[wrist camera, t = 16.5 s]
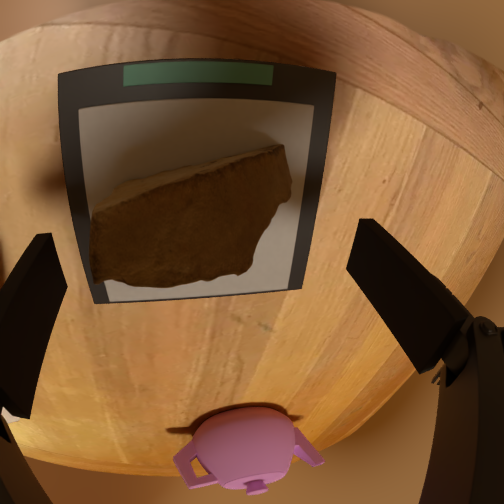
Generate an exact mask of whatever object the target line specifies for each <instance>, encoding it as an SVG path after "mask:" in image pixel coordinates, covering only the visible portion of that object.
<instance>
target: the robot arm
mask: <svg viewBox="0 0 504 504" xmlns="http://www.w3.org/2000/svg"><path fill="white" fill-rule="evenodd" d="M346 270H347V271H348V272H349V274H350V275H351V276H352V278H353V279H354V280H355V282H356V283H357V284H358V286H359V287H360V289H361V290H362V291H363V293H364V294H365V295H366V297H367V298H368V300H369V301H370V302H371V304H372V305H373V307H374V308H375V309H376V311H377V312H378V314H379V315H380V316H381V318H382V319H383V321H384V322H385V324H386V325H387V327H388V328H389V329H390V331H391V332H392V334H393V335H394V337H395V338H396V340H397V341H398V343H399V344H400V346H401V347H402V349H403V350H404V352H405V353H406V355H407V356H408V358H409V359H410V361H411V362H412V364H413V365H414V367H415V368H416V370H417V371H418V373H419V374H421V373H424V372H426V371H429V370H431V369H433V368H434V367H435V366H436V364H437V363H438V361H439V360H440V359H441V358H442V360H443V361H444V365H443V366H442V367H441V368H440V370H439V371H438V372H437V374H436V375H435V376H434V377H433V379H432V383H434V382H435V381H436V380H437V378H438V377H440V380H439V382H438V383H437V385H440V387H439V399H438V409H437V417H436V425H435V431H434V438H433V444H432V449H431V455H430V460H429V465H428V469H427V474H426V478H425V482H424V486H423V490H422V494H421V498H420V501H419V504H504V327H497V326H496V325H495V324H494V323H493V322H492V321H491V320H489V319H487V318H486V317H482V316H479V317H476V318H474V317H473V316H472V315H471V314H470V313H469V311H468V310H467V309H466V308H465V307H464V306H463V305H462V303H461V302H460V301H459V300H458V299H457V298H456V297H455V296H454V295H452V292H451V291H450V290H449V289H448V288H446V286H445V285H444V284H443V283H442V282H441V281H440V280H439V279H438V278H437V277H435V276H434V275H432V274H431V273H430V272H429V271H428V270H427V269H426V268H425V267H424V266H423V265H422V264H421V263H420V262H419V261H418V260H417V259H416V258H415V257H414V256H413V255H412V254H410V253H409V252H408V251H407V250H406V249H405V248H404V247H403V246H402V245H401V244H400V243H399V242H398V241H397V240H396V239H395V238H394V237H393V236H392V235H391V234H389V233H388V232H387V231H386V230H385V229H384V228H383V227H382V226H381V225H380V224H379V223H377V222H376V221H375V220H374V219H359V223H358V227H357V231H356V234H355V238H354V242H353V246H352V249H351V253H350V257H349V260H348V264H347V267H346ZM67 287H68V286H67V283H66V280H65V277H64V274H63V271H62V268H61V265H60V261H59V258H58V255H57V251H56V248H55V244H54V240H53V237H52V233H43V234H36V236H35V237H34V238H33V240H32V241H31V243H30V244H29V246H28V247H27V248H26V250H25V251H24V253H23V254H22V256H21V257H20V259H19V261H18V262H17V264H16V265H15V267H14V268H13V270H12V272H11V273H10V275H9V277H8V278H7V280H6V282H5V283H4V285H3V287H2V288H1V290H0V504H53V503H52V502H51V500H50V499H49V497H48V496H47V494H46V493H45V491H44V490H43V488H42V487H41V485H40V483H39V482H38V480H37V479H36V477H35V475H34V474H33V472H32V470H31V469H30V467H29V465H28V463H27V462H26V460H25V458H24V456H23V454H22V452H21V450H20V449H19V447H18V445H17V443H16V441H15V439H14V437H13V435H12V432H11V430H10V428H9V426H8V424H7V422H6V420H5V418H4V417H3V416H2V415H1V413H2V409H3V407H4V408H5V409H6V410H7V411H8V412H9V413H10V414H11V415H12V416H15V417H20V418H25V419H30V415H31V410H32V405H33V400H34V395H35V391H36V386H37V382H38V378H39V374H40V370H41V366H42V363H43V359H44V355H45V352H46V349H47V345H48V342H49V339H50V335H51V332H52V329H53V326H54V323H55V320H56V317H57V314H58V312H59V309H60V306H61V303H62V301H63V298H64V295H65V293H66V290H67Z"/></svg>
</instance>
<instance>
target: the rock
mask: <svg viewBox="0 0 504 504" xmlns="http://www.w3.org/2000/svg"><path fill="white" fill-rule="evenodd" d="M292 182H293V181H292V178H291V175H290V171H289V166H288V163H287V158H286V154H285V147H284V145H283V144H277V145H271V146H267V147H263V148H259V149H256V150H252V151H248V152H246V153H242V154H237V155H233V156H228V157H223V158H220V159H216V160H213V161H209V162H206V163H202V164H198V165H194V166H192V165H188V166H183V167H180V168H177V169H174V170H168V171H162V172H160V173H157V174H155V175H151V176H148V177H146V178H144V179H133V180H129V181H126V182H124V183H122V184H120V185H118V186H116V187H115V188H114V189H113V191H112V193H111V195H110V196H109V197H107V198H105V199H103V200H102V201H101V202H100V203H97V204H96V205H95V206H94V208H93V211H92V217H91V225H90V239H89V263H90V268H91V273H92V277H93V282H94V284H100V283H102V282H104V281H107V280H114V281H117V282H123V283H125V284H127V285H129V286H133V287H152V288H171V287H175V286H179V285H184V284H191V283H194V282H197V281H200V280H202V281H206V282H209V281H213V280H215V279H216V278H218V277H220V276H226V275H231V274H235V275H237V276H239V275H241V274H243V273H244V272H247V271H248V269H249V268H250V267H251V266H252V264H253V256H254V253H255V249H256V246H257V244H258V242H259V240H260V238H261V236H262V234H263V233H264V231H265V230H266V229H267V228H268V227H269V225H270V223H271V220H272V218H273V217H274V216H275V214H276V212H277V209H278V206H279V205H280V204H282V203H286V202H287V201H288V200H289V199H290V198H291V194H292V193H291V184H292Z"/></svg>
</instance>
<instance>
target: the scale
mask: <svg viewBox="0 0 504 504" xmlns="http://www.w3.org/2000/svg"><path fill="white" fill-rule="evenodd" d="M335 82H336V73H335V72H331V71H326V70H321V69H315V68H309V67H303V66H296V65H289V64H281V63H273V62H263V61H252V60H237V59H211V58H186V59H160V60H145V61H134V62H125V63H116V64H109V65H102V66H95V67H89V68H84V69H78V70H73V71H69V72H64V73H59V74H58V111H59V128H60V140H61V150H62V159H63V167H64V175H65V182H66V188H67V194H68V200H69V206H70V211H71V216H72V221H73V226H74V230H75V235H76V239H77V243H78V248H79V252H80V256H81V259H82V263H83V267H84V271H85V274H86V278H87V281H88V284H89V288H90V291H91V294H92V297H93V301H94V304H109V303H131V302H150V301H167V300H183V299H197V298H210V297H223V296H235V295H246V294H257V293H268V292H278V291H287V290H297V289H302V285H303V280H304V276H305V271H306V266H307V261H308V256H309V251H310V246H311V240H312V235H313V230H314V224H315V219H316V213H317V208H318V202H319V196H320V190H321V184H322V178H323V172H324V165H325V159H326V152H327V145H328V138H329V131H330V123H331V116H332V108H333V100H334V91H335ZM277 144H283V145H284V147H285V154H286V158H287V163H288V166H289V171H290V175H291V178H292V181H293V182H292V184H291V193H292V194H291V198H290V199H289V200H288V201H287V202H286V203H282V204H280V205H279V206H278V209H277V212H276V214H275V216H274V217H273V218H272V220H271V223H270V225H269V227H268V228H267V229H266V230H265V231H264V233H263V234H262V236H261V238H260V240H259V242H258V244H257V246H256V249H255V253H254V256H253V264H252V266H251V267H250V268H249V269H248V271H247V272H244V273H243V274H241V275H239V276H237V275H235V274H231V275H226V276H220V277H218V278H216V279H215V280H213V281H209V282H206V281H202V280H200V281H197V282H194V283H191V284H184V285H179V286H175V287H171V288H152V287H133V286H129V285H127V284H125V283H123V282H117V281H114V280H107V281H104V282H102V283H100V284H94V282H93V277H92V273H91V268H90V263H89V239H90V225H91V217H92V211H93V208H94V206H95V205H96V204H97V203H100V202H101V201H102V200H103V199H105V198H107V197H109V196H110V195H111V193H112V191H113V189H114V188H115V187H116V186H118V185H120V184H122V183H124V182H126V181H129V180H133V179H144V178H146V177H148V176H151V175H155V174H157V173H160V172H162V171H168V170H174V169H177V168H180V167H183V166H188V165H192V166H194V165H198V164H202V163H206V162H209V161H213V160H216V159H220V158H223V157H228V156H233V155H237V154H242V153H246V152H248V151H252V150H256V149H259V148H263V147H267V146H271V145H277Z"/></svg>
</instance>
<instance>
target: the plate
mask: <svg viewBox="0 0 504 504" xmlns="http://www.w3.org/2000/svg"><path fill="white" fill-rule="evenodd" d="M1 415H2V416H3V417H4V418H5V420H6V422H7V424H8V423H12V422H15V421H19V420H20V417H15V416H12V415H11V414H10V413H9V412H8V411H7V410H6V409H5V408H4V407H3V409H2V413H1Z"/></svg>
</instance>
